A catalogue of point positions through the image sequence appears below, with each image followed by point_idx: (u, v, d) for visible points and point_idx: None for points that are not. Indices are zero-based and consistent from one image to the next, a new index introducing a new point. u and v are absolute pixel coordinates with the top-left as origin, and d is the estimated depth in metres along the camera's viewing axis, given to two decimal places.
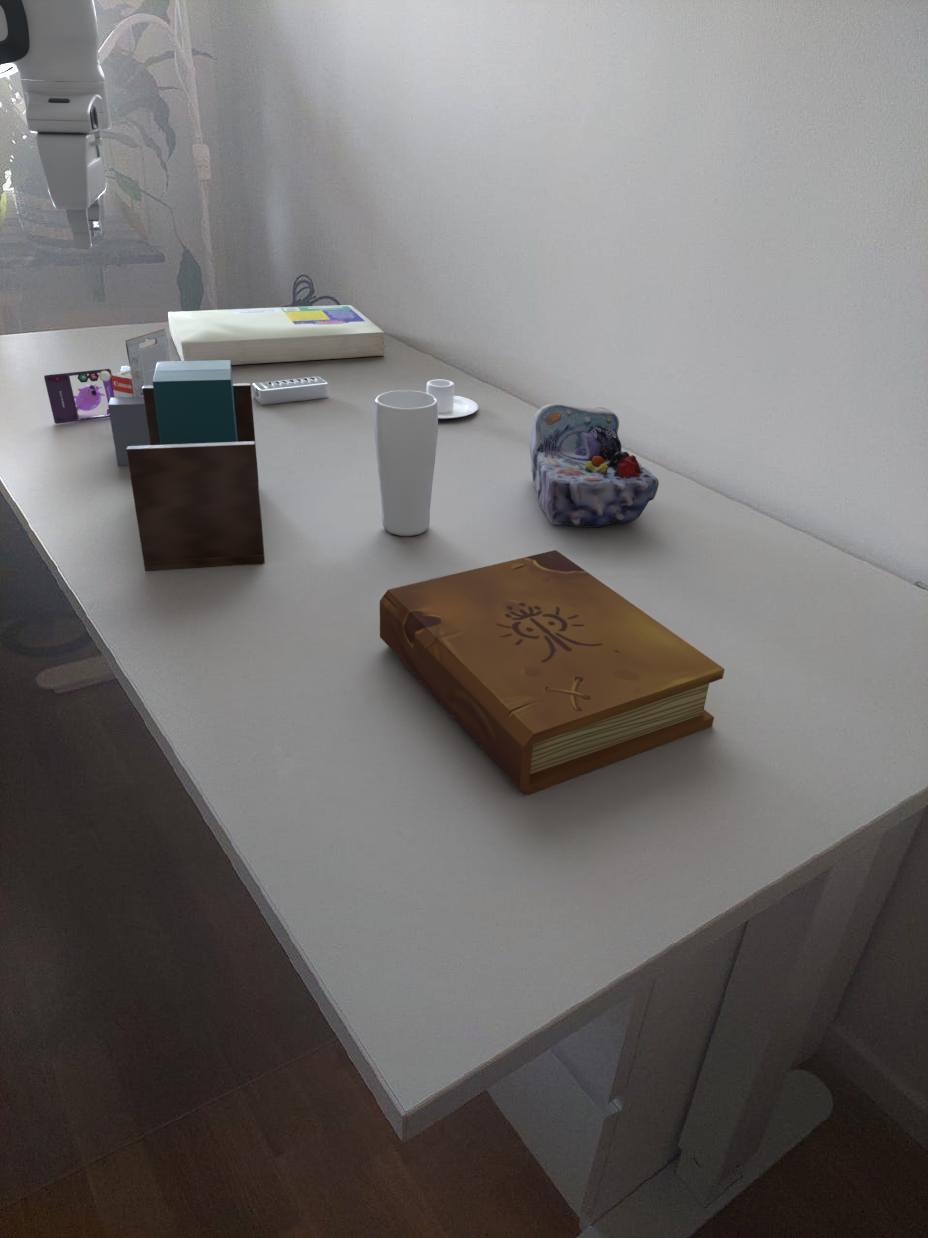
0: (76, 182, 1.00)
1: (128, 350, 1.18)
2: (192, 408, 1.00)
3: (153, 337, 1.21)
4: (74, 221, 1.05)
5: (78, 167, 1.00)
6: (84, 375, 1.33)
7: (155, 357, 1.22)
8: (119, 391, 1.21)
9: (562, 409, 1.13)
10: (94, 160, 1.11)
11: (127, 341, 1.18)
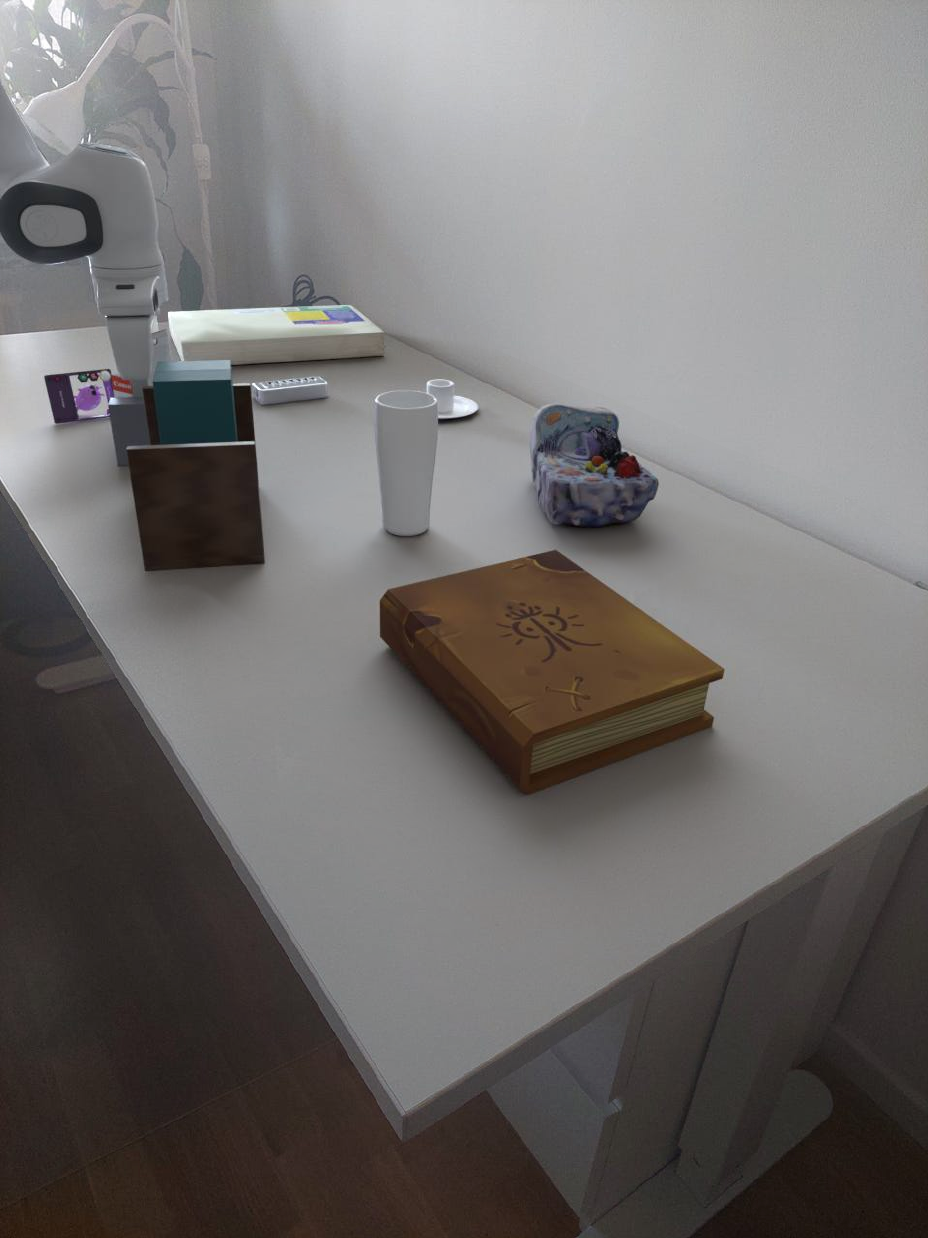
0: (140, 358, 1.13)
1: None
2: (192, 408, 1.00)
3: (154, 338, 1.21)
4: (136, 385, 1.18)
5: (142, 345, 1.13)
6: (84, 375, 1.33)
7: (156, 357, 1.22)
8: (119, 391, 1.21)
9: (562, 409, 1.13)
10: (151, 323, 1.23)
11: None
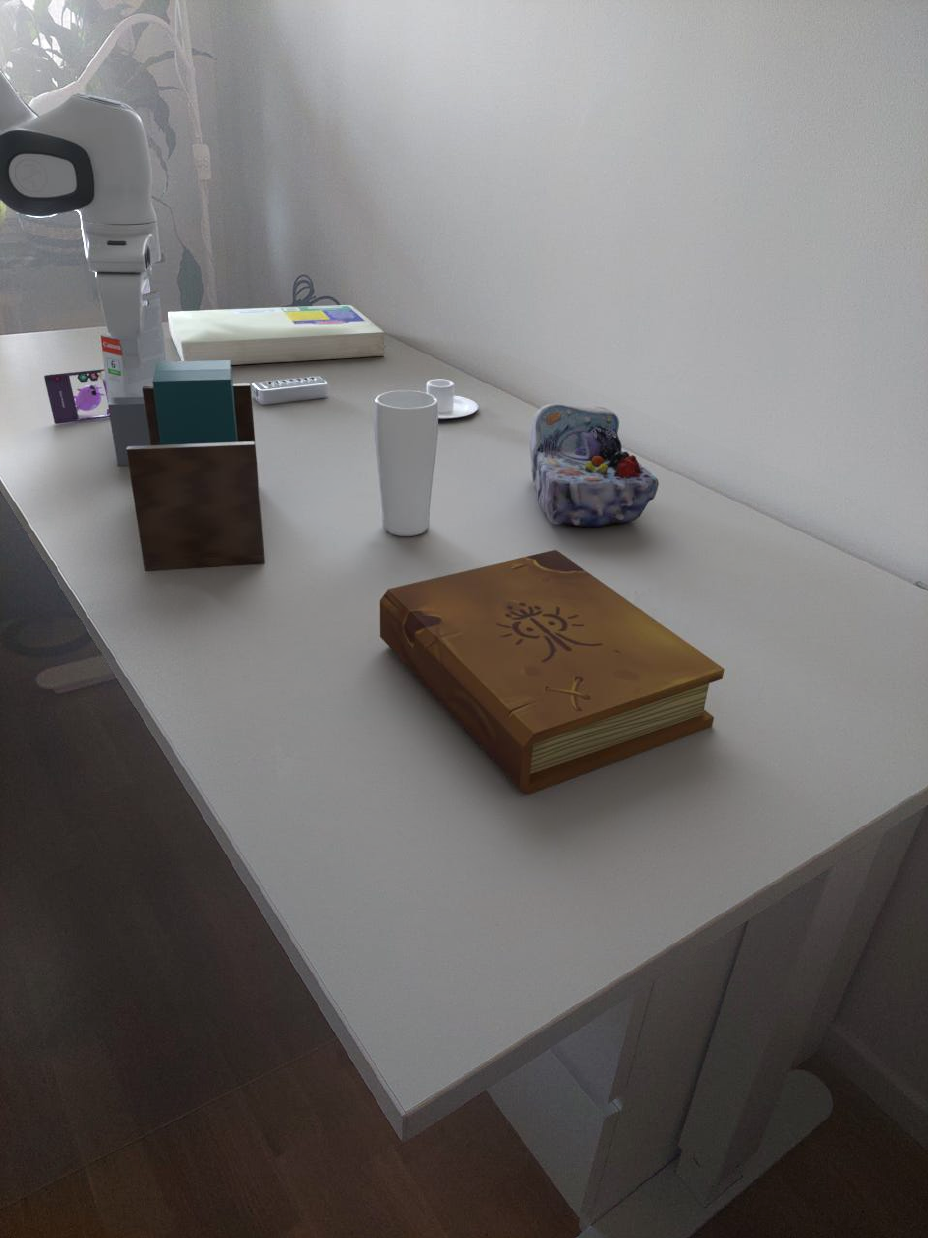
0: (130, 316, 1.10)
1: None
2: (192, 408, 1.00)
3: (146, 299, 1.19)
4: (126, 345, 1.16)
5: (133, 303, 1.10)
6: (84, 375, 1.33)
7: (147, 319, 1.20)
8: (108, 352, 1.18)
9: (562, 409, 1.13)
10: (142, 285, 1.21)
11: None
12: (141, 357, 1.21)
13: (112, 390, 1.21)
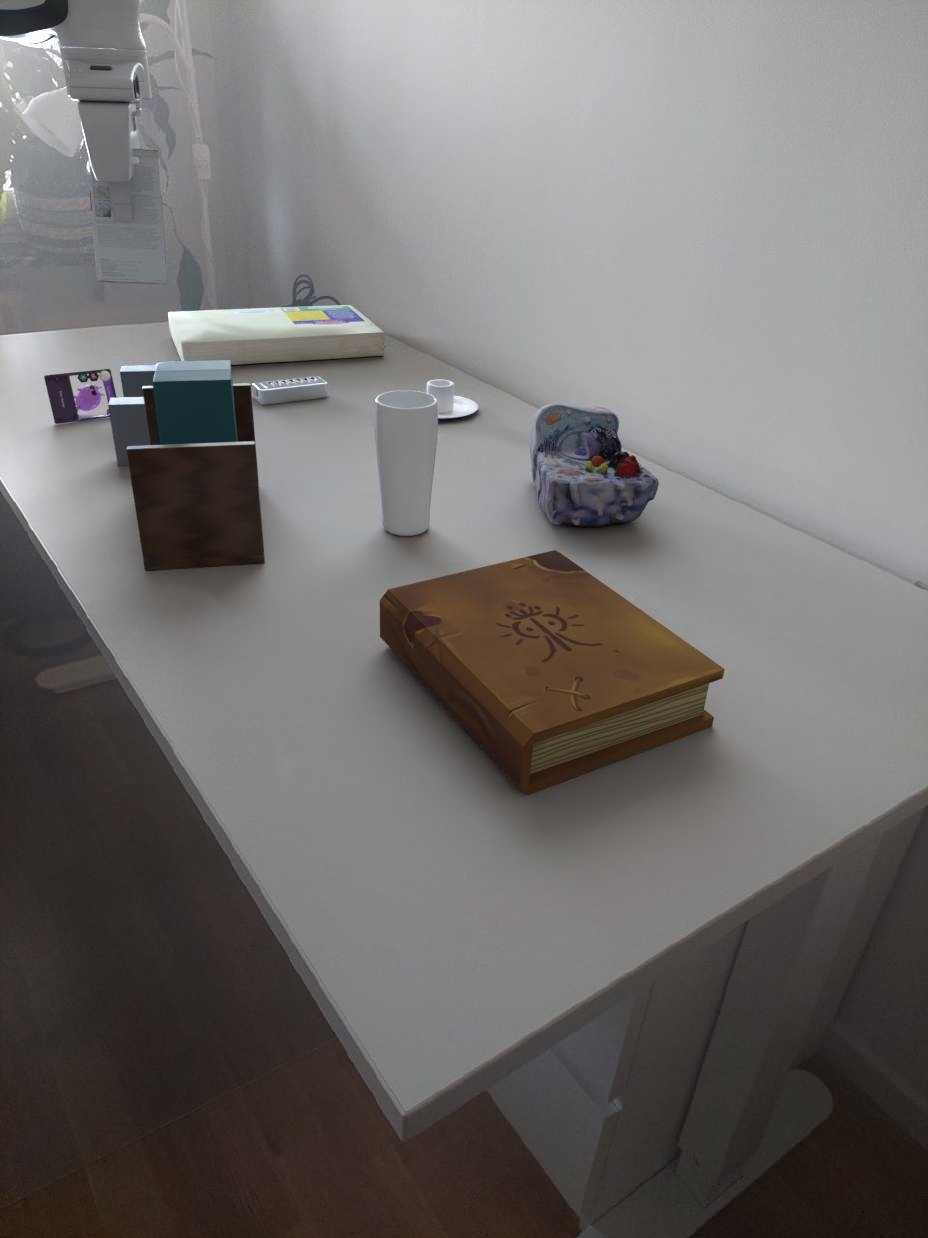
0: (119, 152, 0.97)
1: None
2: (192, 408, 1.00)
3: (135, 155, 1.05)
4: (116, 192, 1.04)
5: (121, 137, 0.97)
6: (84, 375, 1.33)
7: (134, 179, 1.06)
8: None
9: (562, 409, 1.13)
10: (132, 132, 1.07)
11: None
12: None
13: None
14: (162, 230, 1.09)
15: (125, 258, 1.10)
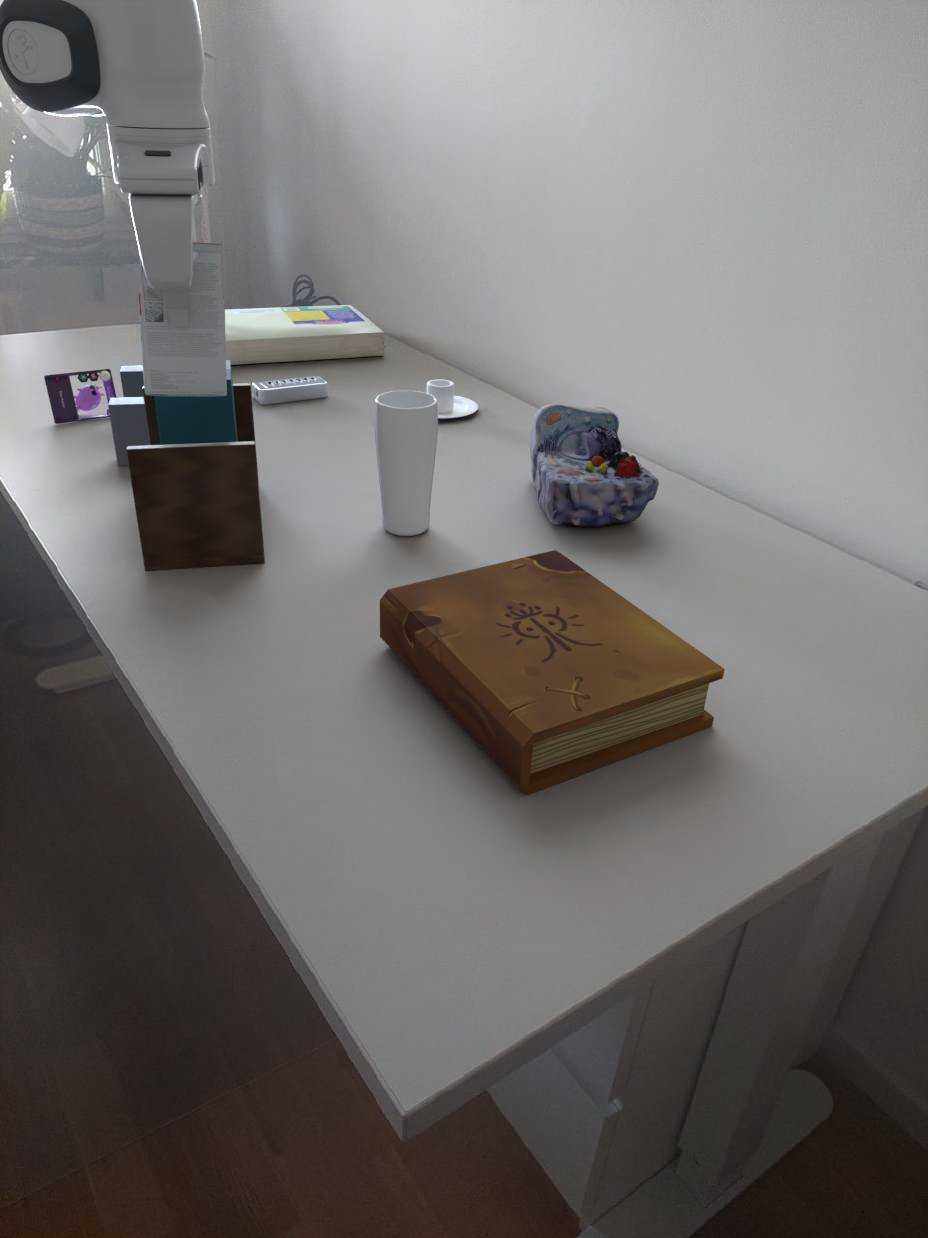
0: (178, 256, 0.79)
1: (139, 253, 0.86)
2: (192, 408, 1.00)
3: (194, 250, 0.87)
4: (171, 295, 0.86)
5: (182, 238, 0.79)
6: (84, 375, 1.33)
7: (192, 278, 0.88)
8: None
9: (562, 409, 1.13)
10: None
11: None
12: None
13: (142, 360, 0.92)
14: (223, 335, 0.91)
15: (178, 369, 0.92)
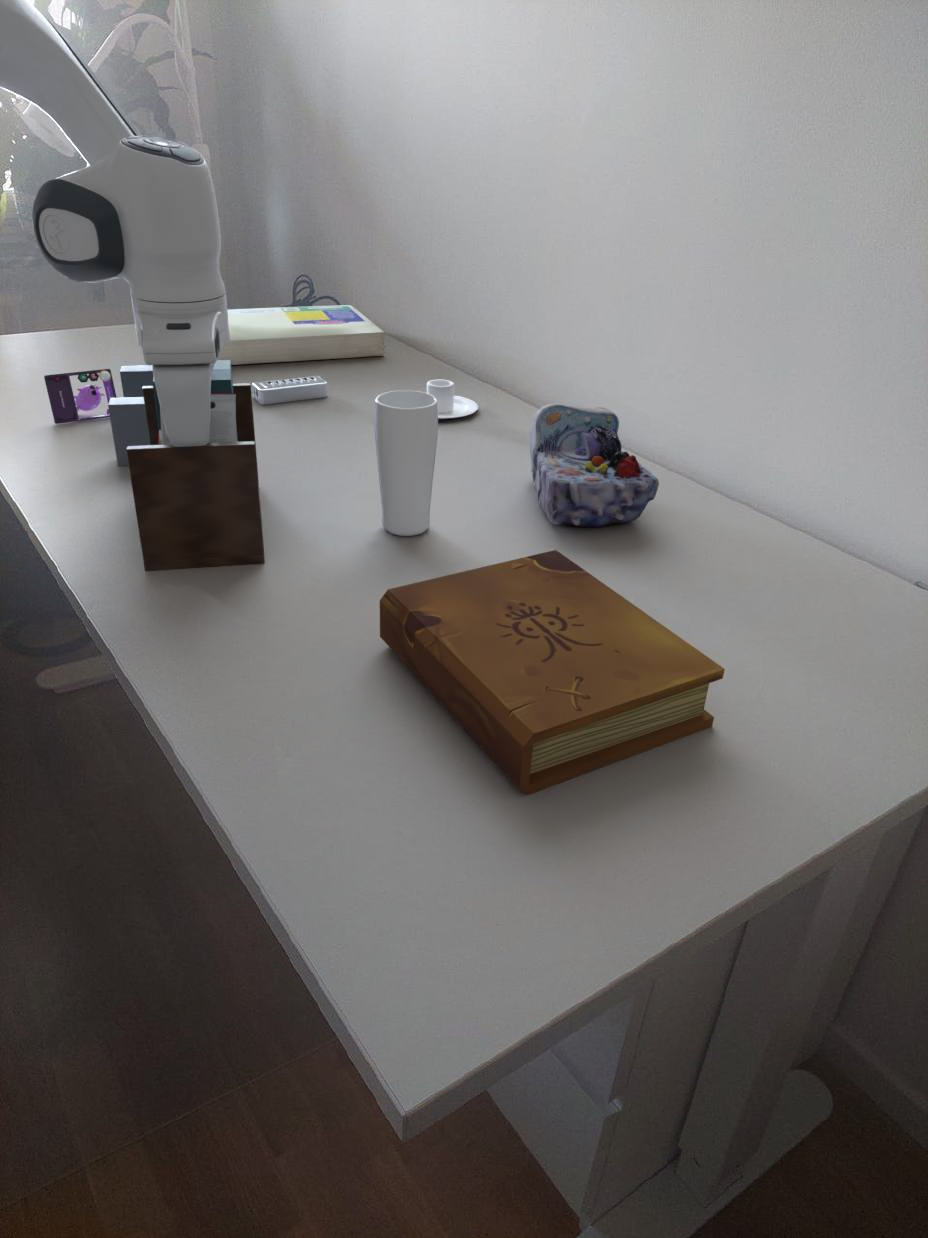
0: (197, 419, 0.86)
1: None
2: None
3: None
4: None
5: (200, 403, 0.86)
6: (84, 375, 1.33)
7: None
8: None
9: (562, 409, 1.13)
10: None
11: None
12: None
13: None
14: None
15: None
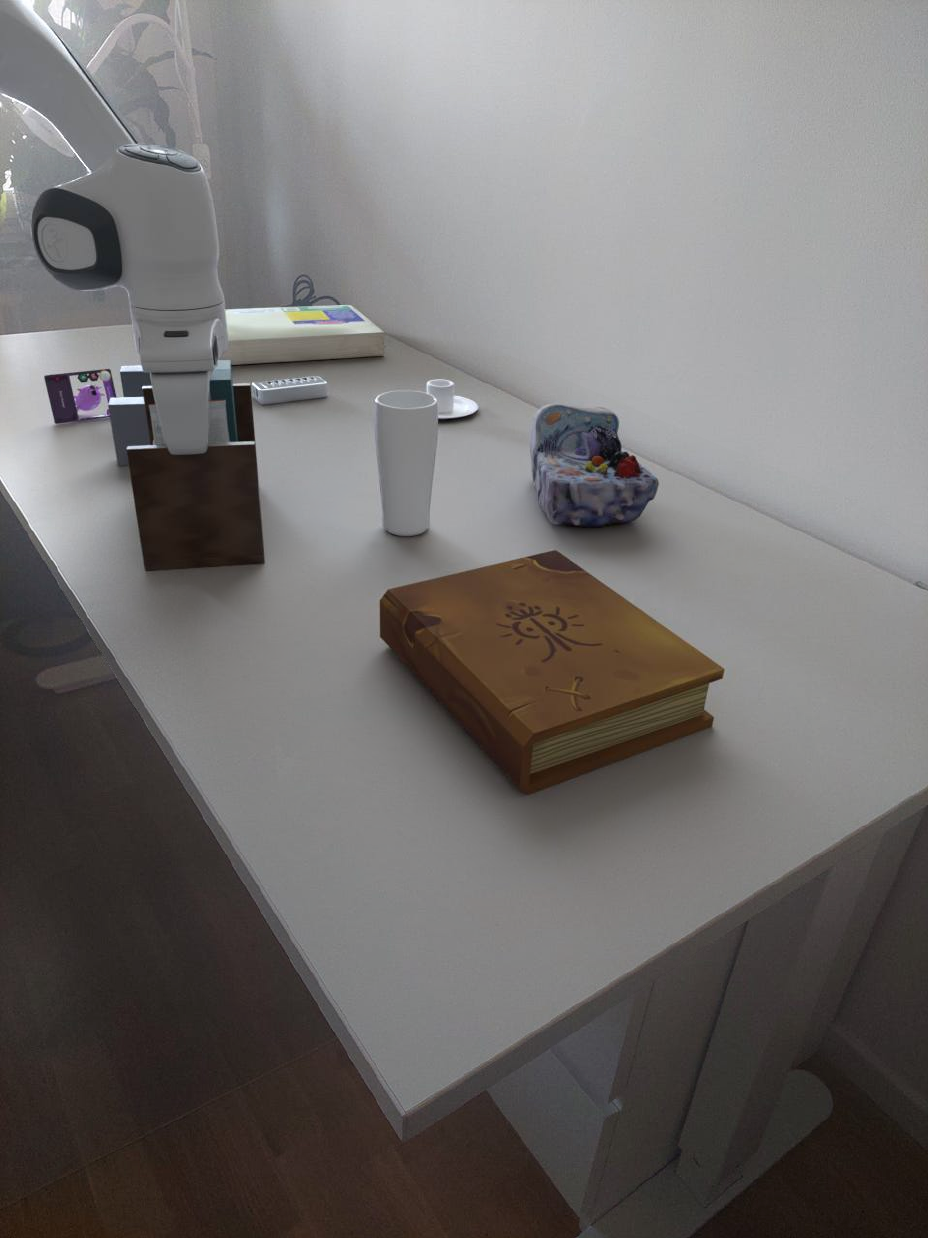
0: (195, 427, 0.86)
1: (151, 416, 0.93)
2: None
3: None
4: None
5: (198, 411, 0.85)
6: (84, 375, 1.33)
7: None
8: None
9: (562, 409, 1.13)
10: None
11: (151, 405, 0.93)
12: None
13: None
14: None
15: None
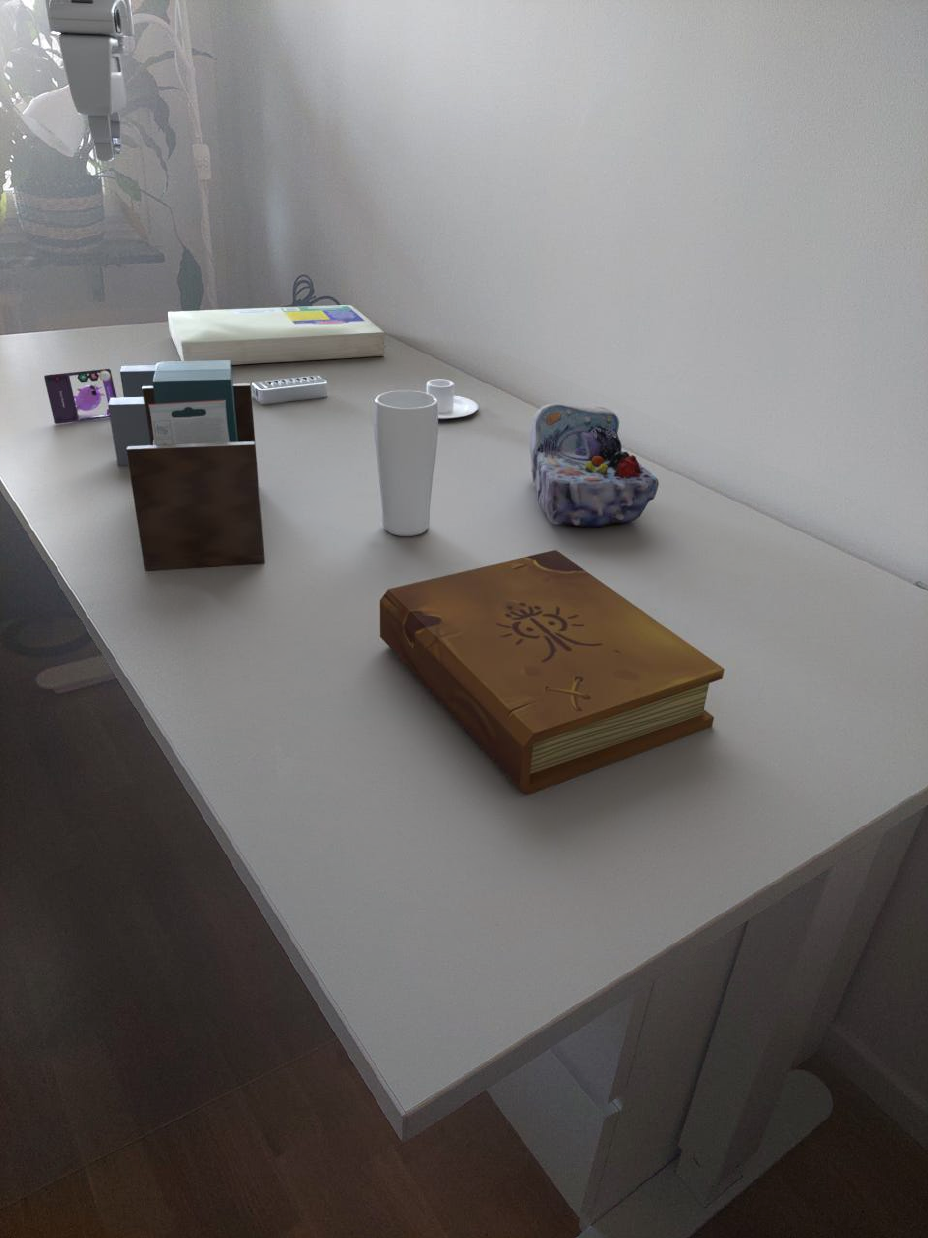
0: (99, 85, 0.98)
1: (151, 416, 0.93)
2: None
3: (200, 408, 0.94)
4: (96, 130, 1.03)
5: (102, 69, 0.97)
6: (84, 375, 1.33)
7: (200, 432, 0.95)
8: None
9: (562, 409, 1.13)
10: (115, 72, 1.08)
11: (151, 405, 0.93)
12: None
13: None
14: None
15: None
